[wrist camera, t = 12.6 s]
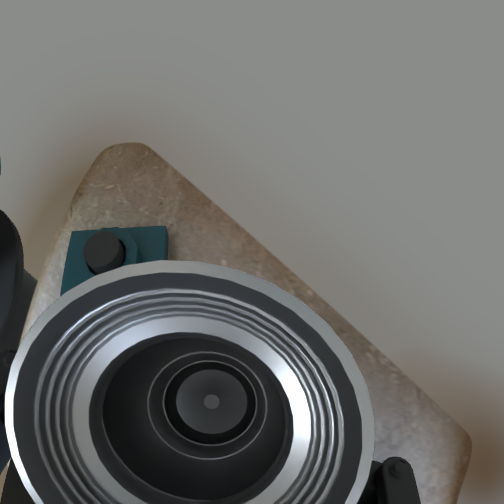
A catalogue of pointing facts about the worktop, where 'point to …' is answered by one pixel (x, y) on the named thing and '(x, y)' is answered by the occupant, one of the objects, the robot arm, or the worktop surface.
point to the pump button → (103, 252)
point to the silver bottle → (186, 394)
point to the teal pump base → (132, 240)
